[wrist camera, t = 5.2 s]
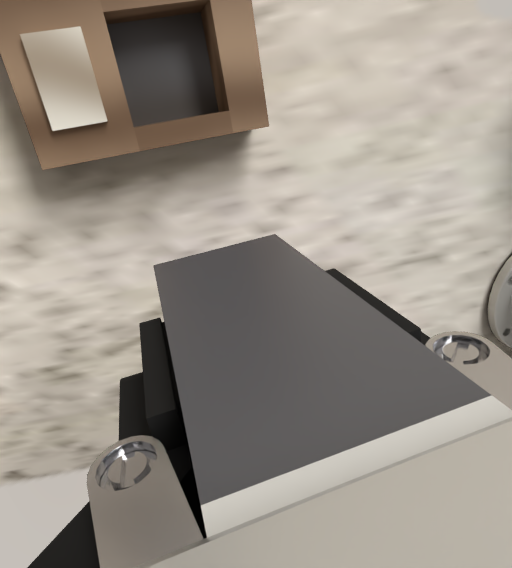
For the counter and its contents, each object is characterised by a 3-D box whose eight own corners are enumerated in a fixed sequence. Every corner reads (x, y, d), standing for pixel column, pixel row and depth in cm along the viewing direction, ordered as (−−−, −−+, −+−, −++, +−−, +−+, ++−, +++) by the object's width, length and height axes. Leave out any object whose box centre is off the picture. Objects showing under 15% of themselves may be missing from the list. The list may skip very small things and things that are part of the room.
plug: (291, 338, 15) (528, 645, 6) (184, 371, 14) (281, 776, 5) (274, 234, 14) (562, 447, 5) (153, 265, 13) (218, 593, 4)
